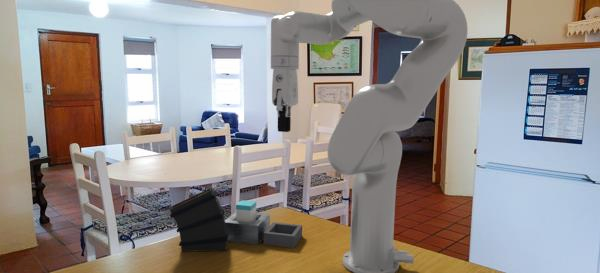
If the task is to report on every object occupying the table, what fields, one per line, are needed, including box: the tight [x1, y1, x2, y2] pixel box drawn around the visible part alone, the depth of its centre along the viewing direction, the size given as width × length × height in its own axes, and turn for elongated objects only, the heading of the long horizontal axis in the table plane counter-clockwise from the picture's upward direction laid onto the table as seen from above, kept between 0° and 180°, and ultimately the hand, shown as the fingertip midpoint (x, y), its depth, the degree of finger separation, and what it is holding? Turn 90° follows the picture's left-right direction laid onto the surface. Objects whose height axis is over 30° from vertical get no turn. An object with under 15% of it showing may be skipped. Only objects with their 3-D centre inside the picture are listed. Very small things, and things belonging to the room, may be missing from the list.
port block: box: [224, 211, 271, 246], centre depth 109 cm, size 10×10×5 cm
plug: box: [235, 199, 257, 223], centre depth 109 cm, size 4×4×9 cm
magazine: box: [169, 187, 228, 252], centre depth 100 cm, size 4×13×15 cm, turn 94°
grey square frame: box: [263, 221, 303, 249], centre depth 107 cm, size 8×8×3 cm
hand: (284, 131), depth 113 cm, fingers closed
